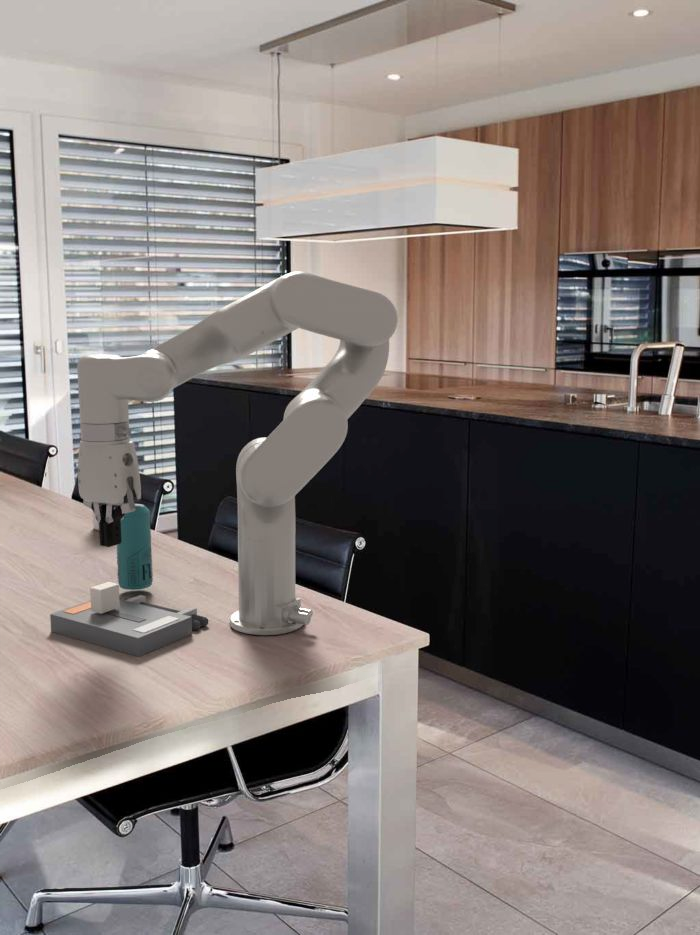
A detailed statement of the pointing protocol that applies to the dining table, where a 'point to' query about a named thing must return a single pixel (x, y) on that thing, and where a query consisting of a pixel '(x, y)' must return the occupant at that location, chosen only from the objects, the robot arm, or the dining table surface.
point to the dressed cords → (175, 611)
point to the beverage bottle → (135, 549)
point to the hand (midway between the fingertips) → (110, 544)
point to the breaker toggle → (104, 597)
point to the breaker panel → (123, 626)
